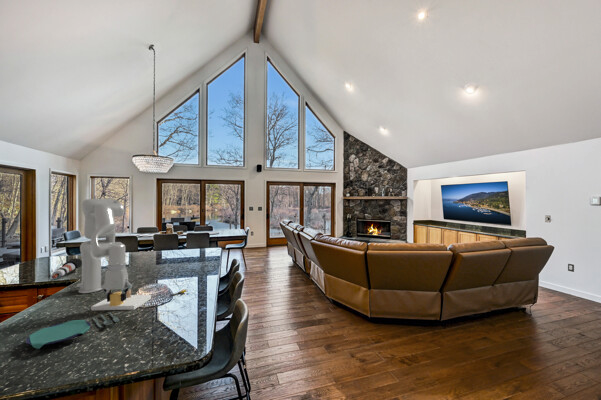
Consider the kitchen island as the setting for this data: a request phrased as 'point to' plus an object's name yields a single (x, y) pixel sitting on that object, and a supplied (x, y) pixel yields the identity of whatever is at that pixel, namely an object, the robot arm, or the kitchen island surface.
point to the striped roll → (67, 267)
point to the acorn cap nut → (115, 299)
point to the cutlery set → (63, 331)
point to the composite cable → (179, 292)
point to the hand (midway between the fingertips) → (116, 300)
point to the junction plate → (128, 304)
